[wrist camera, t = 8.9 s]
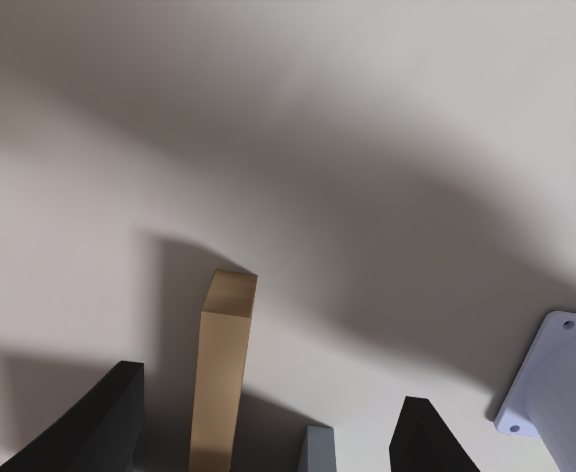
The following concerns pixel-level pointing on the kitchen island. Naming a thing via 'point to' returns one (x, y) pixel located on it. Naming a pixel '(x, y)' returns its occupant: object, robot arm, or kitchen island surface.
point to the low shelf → (309, 451)
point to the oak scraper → (220, 369)
